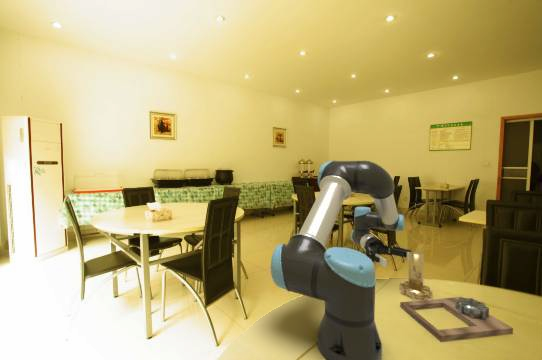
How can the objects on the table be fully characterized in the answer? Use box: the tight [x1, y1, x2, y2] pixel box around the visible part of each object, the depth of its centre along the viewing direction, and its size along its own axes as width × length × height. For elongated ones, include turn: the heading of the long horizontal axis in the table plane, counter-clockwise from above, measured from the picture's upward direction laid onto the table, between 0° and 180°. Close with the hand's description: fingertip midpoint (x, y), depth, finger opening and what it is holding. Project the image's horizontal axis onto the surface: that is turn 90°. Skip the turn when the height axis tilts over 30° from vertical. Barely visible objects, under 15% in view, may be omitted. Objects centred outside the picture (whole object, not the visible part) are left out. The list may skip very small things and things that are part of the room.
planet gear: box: [399, 250, 433, 301], centre depth 88 cm, size 10×10×14 cm
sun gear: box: [455, 296, 490, 320], centre depth 75 cm, size 8×8×2 cm
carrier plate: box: [399, 296, 514, 343], centre depth 74 cm, size 21×16×2 cm
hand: (402, 262), depth 96 cm, fingers open, 13 cm apart
